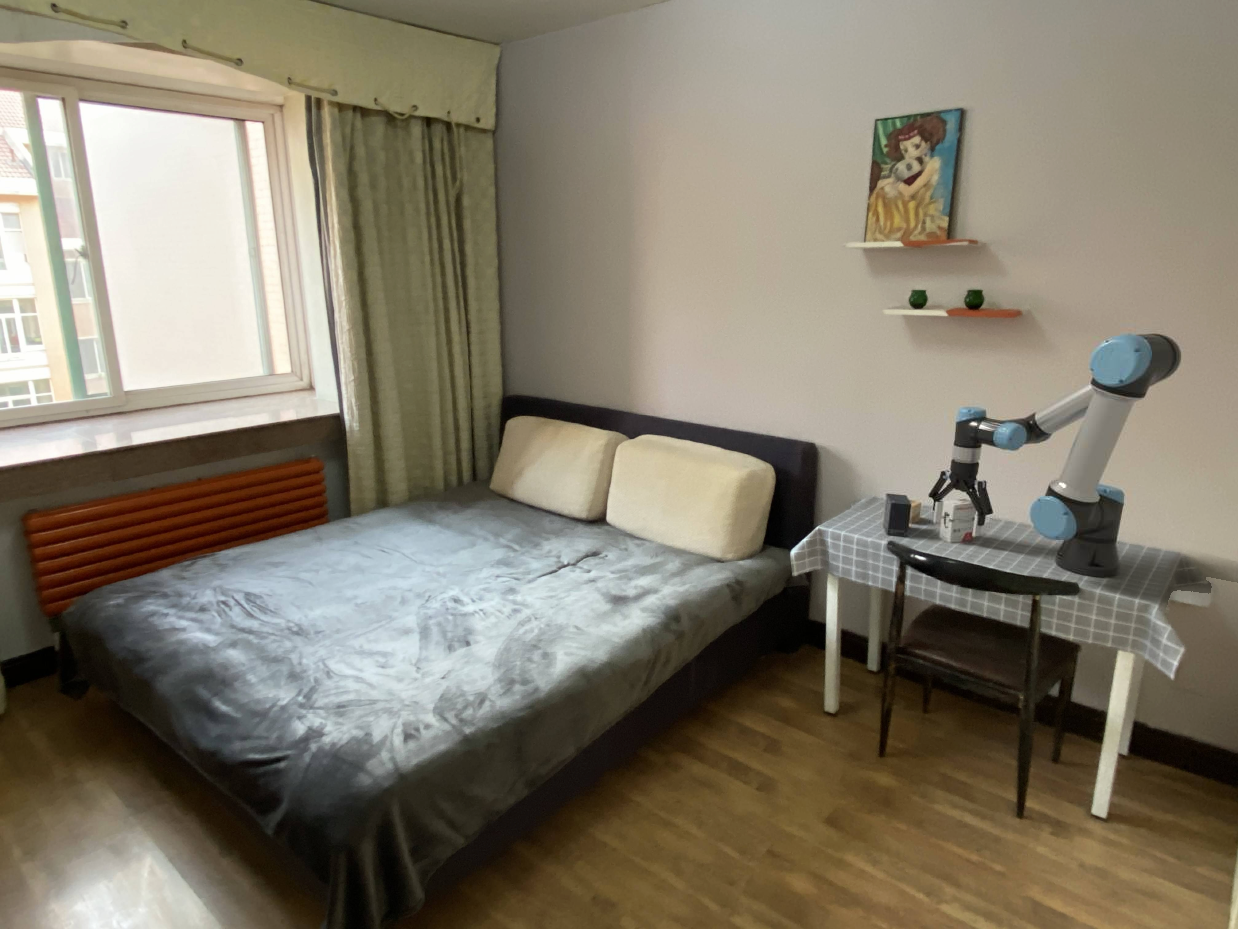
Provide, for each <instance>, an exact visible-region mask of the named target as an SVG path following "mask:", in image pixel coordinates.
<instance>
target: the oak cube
mask: <svg viewBox="0 0 1238 929" xmlns="http://www.w3.org/2000/svg"><path fill="white" fill-rule="evenodd" d="M909 501H910V503H911V512H910V520H909V525H910V524H914V523H916V522H918V521H920V519H921V518H920V517H921V511H922V510H921V508H922V501H917V500H912V499H909Z"/></svg>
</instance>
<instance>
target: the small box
mask: <svg viewBox="0 0 1238 929" xmlns="http://www.w3.org/2000/svg"><path fill="white" fill-rule="evenodd" d="M909 500H910V499H909V498H908V496H907V494H897V493H886V494H885V504H884V512H883V521H882V526H883V528H884V531H885V534H886V535H887V536H900V537H908V535H909V529H910V523H909V520H910V512H911V503H910V501H909Z"/></svg>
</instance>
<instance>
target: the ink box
mask: <svg viewBox="0 0 1238 929" xmlns="http://www.w3.org/2000/svg"><path fill="white" fill-rule="evenodd" d="M943 501H944V502H943V510H942V518H941V522H940V529H939V538H940V539H941V540H942V541H943V540H944V541H946V542H948V543H958V542H966V541H972V540H973V539H974V536H972V534H973V527H974V520H975V515H976V514H977V511H976V509H975V507H974V505H973V503H972V501H971V499H968V498H963V499H953V500H952V499H951V500H943Z"/></svg>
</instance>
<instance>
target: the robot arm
mask: <svg viewBox="0 0 1238 929" xmlns="http://www.w3.org/2000/svg"><path fill="white" fill-rule="evenodd" d="M1181 362H1182V351H1181V348H1180V346H1179V344H1178V343H1177V342H1176V341H1175V340H1174V339H1173V338H1171V337H1169V336H1168V335H1165V334H1162V333H1145V334H1143V333H1142V334H1141V333H1140V334H1132V333H1128V334H1127V333H1126V334H1119V335H1116V336H1113V337H1110V338H1107V339H1106V340H1104V341H1102V342H1101V343H1099V344H1098V346H1096V347H1095V349H1094V350H1093V351H1092V354H1091V356H1090V359H1089V370H1090V371H1091V376H1092V378H1091V379H1090V380H1088V381H1086V382H1085V383H1083V384H1082V385H1080V386H1078V387H1076V388H1074V389H1073V390H1070V391H1069V392H1067V393H1066V394H1064V395H1063V396H1061V397H1059V398H1057V399H1056V400H1054V401H1052V402H1050V403H1049V404H1046V405H1045V406H1043V407H1042V408H1040V409H1038V410H1037V411H1035V412H1033V413H1031V414H1029V415H1028V416H1026V417H1021V418H1014V419H1013V418H1012V419H1006V420H1005V419H1004V420H1003V419H1002V420H1001V419H1000V420H999V419H996V418H995V419H994V418H991V417H987V410H986V409H985V408H982V407H977V406H962V407H960V408H959V409H958V412H957V416H956V420H955V429H954V441H953V446H952V452H951V458H952V459H951V461H950V468H949V470H950V471H949V470H948V469H947V470H941V471H940V473H939V474H940V475H939V478H938V479H937V481H936V483H935V484H934V485H933V486H932V488H931V490H930V492H929V493H928V496H927V497H928V498H930V499H932V500H933V505H932V511H933V513H934V514H933V520H932V521H933V523H934V524H936V523H941V520H942V511H943V502H944V501H945V500H943V499H944V498H945V497H946V496H948V494H950V493H951V492H952V491H953V490H954V491H955V490H956V491H960V492H961V493H965V494H966V495H967V496H968V497H969V500H970V501H972V503H973V505H974V507H975V509H976V515H975V520H974V527H973V534H972V536H973V538H974V537H978V536H981V534H982V527H983V526H985V523H986V522H985V521H986V517H987V516H990V515H993V514H994V510H993V506H992V503H991V500H990V496H989V493H988V490H987V481H986V480H978V479H977V475H978V474H979V468H980V462H979V461H980V460H981V453H982V446H983V445H985V446H989V447H994V448H997V449H1001V450H1003V451H1012V452H1013V451H1015V452H1016V451H1018V450H1020V448H1022V447H1023V446H1024V445H1031V444H1033V445H1034V444H1040V443H1042V442H1046V441H1048V440H1049V439H1050V438H1051V437H1053V436H1052V435H1053V434H1054V433H1056V432H1058V431H1060V430H1062V429H1064V428H1065V427H1068V426H1070V425H1071V424H1073V423H1075V422H1077V421H1080V419H1082V422H1081V424H1080V426H1079V429H1078V431H1077V434H1076V435H1075V439H1074V441H1073V443H1072V445H1071V448H1070V450H1069V453H1068V456H1067V458H1066V460H1065V462H1064V465H1063V468H1062V470H1061V471H1060V472H1061V473H1060V475H1059V477H1058V478H1055V479H1053V480H1051V481H1050V482H1049V484H1048V485H1047V486H1048V487H1047V489H1046V491H1045V494H1044V495H1043V496H1040V497H1038V498H1037V499H1035V500H1034V501H1033V502H1032V503H1031V506H1030V509H1029V519H1030V522H1031V523H1032V525H1033V528H1034V529H1035V530H1036V532H1037V533H1038V534H1039V535H1040V536H1042V537H1044V538H1046V539H1048V540H1050V541H1052V540H1053V541H1062V542H1061V544H1060V546H1059V547H1058V549H1057V550H1056V553H1055V557H1054V563H1055V564H1056V565H1057V566H1058V567H1060V568H1062V569H1063V570H1065V571H1066V570H1067V571H1070V572H1072V573H1076V574H1079V575H1080V574H1081V575H1084V576H1091V577H1101V578H1102V577H1104V578H1105V577H1106V578H1108V576H1110V577H1115V576H1117V575H1119V574H1120V571H1121V570H1120V569H1121V559H1120V557H1119V556H1120V555H1119V551H1118V546H1117V541H1118V537H1119V536H1118V535H1119V531H1120V525H1121V520H1122V514H1123V511H1124V506H1125V502H1124V501H1125V493H1124V491H1123V490H1122V489H1120V488H1118V487H1114V486H1112V485H1111V486H1110V485H1107V484H1101V483H1100V481H1101V479H1102V477H1103V474H1104V472H1105V470H1106V468H1107V466H1108V463H1109V461H1110V459H1111V456H1112V454H1113V452H1114V450H1115V448H1116V445H1117V443H1118V441H1119V439H1120V436H1121V434H1122V431H1123V429H1124V427H1125V424H1126V423H1127V421H1128V417H1129V415H1130V413H1131V411H1132V408H1133V406H1134V404H1135V403H1136V402H1138V401H1141V400H1144V399H1145V397H1146V395H1147V393H1148V391H1149V388H1150V387H1153V386H1154V385H1156V384H1158V383H1160V382H1162V381H1164V380H1167V379H1168V378H1170V377H1172V375H1174V374H1175V372H1176V371H1177V370H1178V369H1179V366H1180V364H1181ZM948 480H949V481H950V482H949V483H947V481H948ZM946 483H947V485H946V486H945V487H944V485H945V484H946ZM943 487H944V488H943Z"/></svg>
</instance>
